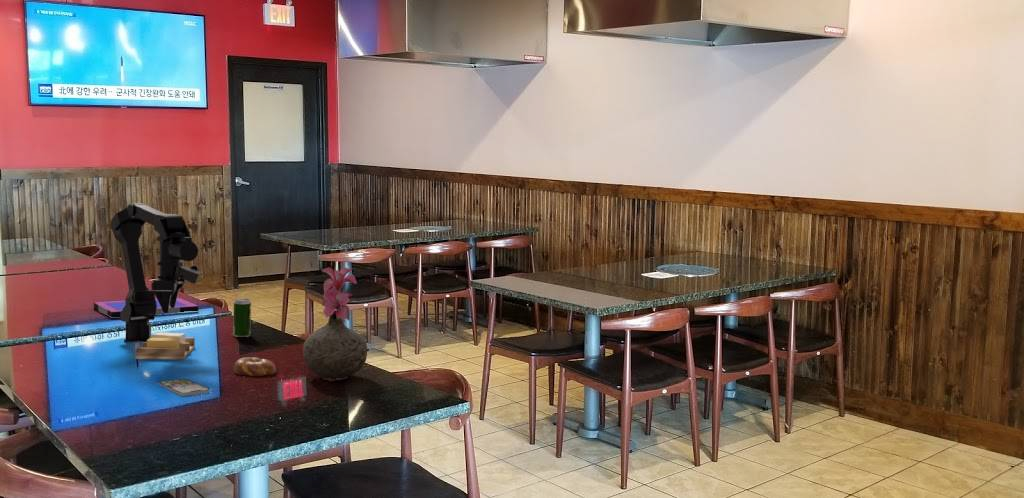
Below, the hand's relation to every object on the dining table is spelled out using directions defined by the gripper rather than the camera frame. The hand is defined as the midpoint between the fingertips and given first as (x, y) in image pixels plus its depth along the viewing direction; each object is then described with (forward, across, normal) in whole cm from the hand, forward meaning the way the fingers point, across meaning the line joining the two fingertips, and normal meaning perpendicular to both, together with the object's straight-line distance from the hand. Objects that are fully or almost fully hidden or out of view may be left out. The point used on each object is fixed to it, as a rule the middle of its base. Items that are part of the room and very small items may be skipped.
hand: (169, 310), depth 259 cm
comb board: (+12, -4, 0) cm, 13 cm away
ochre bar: (+11, -7, 0) cm, 13 cm away
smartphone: (+13, -42, -12) cm, 46 cm away
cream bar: (+11, 0, 0) cm, 11 cm away
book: (+13, +63, +21) cm, 68 cm away
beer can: (+12, +21, -18) cm, 31 cm away
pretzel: (+13, -25, -28) cm, 39 cm away
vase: (+12, -31, -49) cm, 59 cm away
